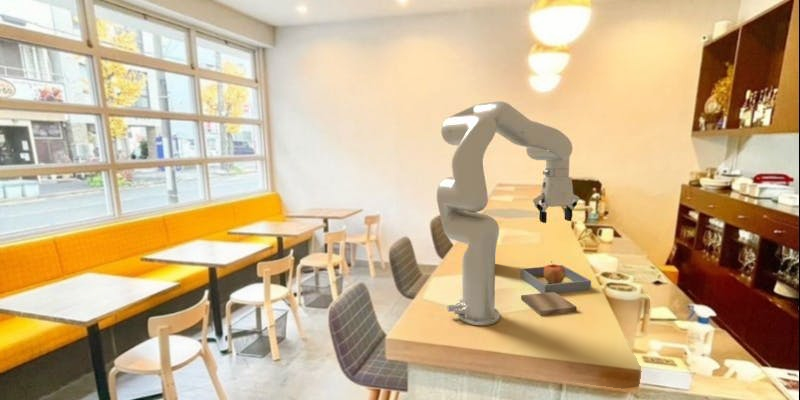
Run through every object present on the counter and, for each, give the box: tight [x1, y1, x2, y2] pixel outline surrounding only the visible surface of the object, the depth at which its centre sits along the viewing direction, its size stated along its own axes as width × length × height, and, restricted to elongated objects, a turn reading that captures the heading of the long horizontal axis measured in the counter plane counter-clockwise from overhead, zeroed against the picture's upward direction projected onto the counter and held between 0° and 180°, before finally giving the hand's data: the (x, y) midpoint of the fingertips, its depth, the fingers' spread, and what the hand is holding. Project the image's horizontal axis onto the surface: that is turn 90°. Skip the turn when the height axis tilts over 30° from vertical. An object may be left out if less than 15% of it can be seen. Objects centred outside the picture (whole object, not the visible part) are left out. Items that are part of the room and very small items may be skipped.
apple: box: [543, 261, 566, 284], centre depth 138 cm, size 7×7×8 cm
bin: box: [520, 264, 592, 295], centre depth 138 cm, size 17×17×4 cm
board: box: [520, 292, 577, 317], centre depth 121 cm, size 12×12×2 cm
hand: (555, 221), depth 135 cm, fingers open, 9 cm apart
